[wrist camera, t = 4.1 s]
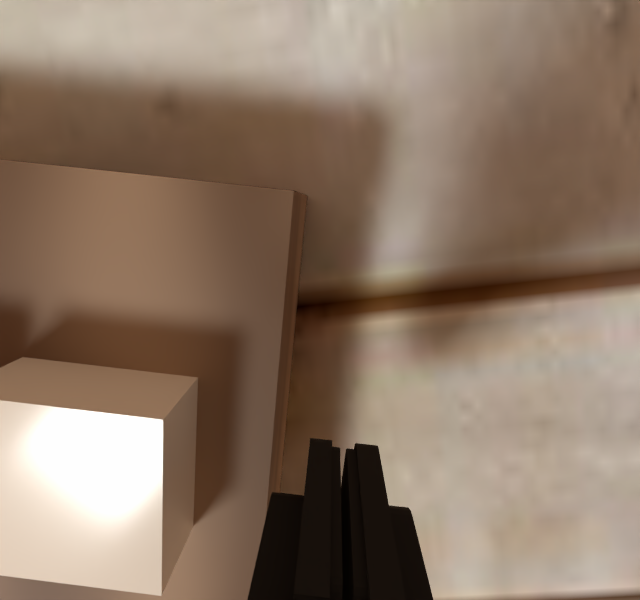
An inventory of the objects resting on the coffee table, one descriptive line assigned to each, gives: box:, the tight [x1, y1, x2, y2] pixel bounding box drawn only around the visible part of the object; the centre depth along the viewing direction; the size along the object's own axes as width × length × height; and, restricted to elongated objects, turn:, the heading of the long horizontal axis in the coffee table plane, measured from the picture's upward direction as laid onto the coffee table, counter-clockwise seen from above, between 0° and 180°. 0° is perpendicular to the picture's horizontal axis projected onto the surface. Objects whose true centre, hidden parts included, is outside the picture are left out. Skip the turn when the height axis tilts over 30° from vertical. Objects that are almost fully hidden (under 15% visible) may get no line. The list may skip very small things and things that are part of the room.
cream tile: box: [0, 357, 198, 596], centre depth 9 cm, size 4×4×2 cm
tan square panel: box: [0, 159, 307, 600], centre depth 12 cm, size 13×14×4 cm
